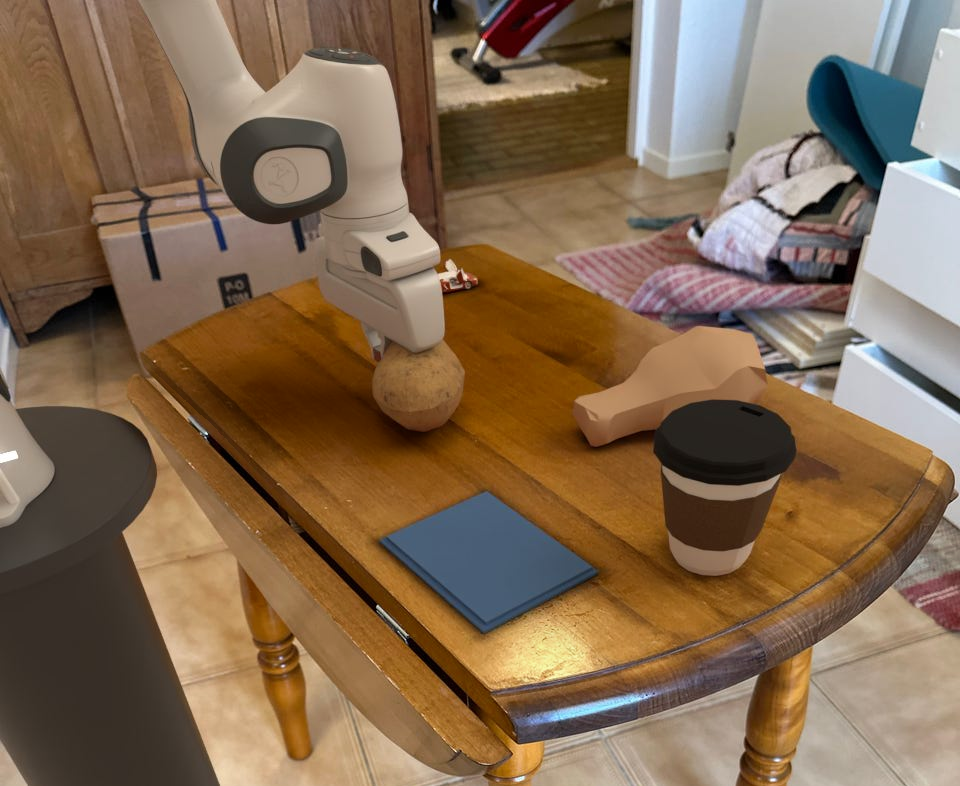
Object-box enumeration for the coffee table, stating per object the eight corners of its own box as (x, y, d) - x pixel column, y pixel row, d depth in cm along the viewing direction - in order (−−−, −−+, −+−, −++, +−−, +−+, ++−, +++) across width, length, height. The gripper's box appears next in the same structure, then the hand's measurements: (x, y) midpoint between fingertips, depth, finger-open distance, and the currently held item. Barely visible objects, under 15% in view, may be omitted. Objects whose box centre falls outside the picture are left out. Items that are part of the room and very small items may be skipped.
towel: (483, 634, 74) (483, 628, 73) (379, 542, 83) (378, 537, 83) (598, 573, 78) (598, 568, 78) (486, 494, 88) (486, 488, 88)
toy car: (484, 289, 125) (482, 265, 123) (427, 300, 123) (425, 276, 121) (471, 276, 129) (470, 252, 127) (416, 286, 127) (414, 263, 125)
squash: (783, 426, 95) (796, 353, 88) (604, 490, 93) (602, 421, 86) (730, 366, 101) (739, 294, 94) (561, 425, 99) (557, 355, 92)
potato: (372, 457, 94) (362, 385, 89) (381, 392, 105) (371, 324, 99) (468, 452, 94) (463, 379, 89) (467, 387, 105) (462, 318, 99)
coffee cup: (691, 503, 85) (705, 382, 77) (799, 549, 79) (826, 423, 71) (618, 559, 80) (625, 435, 72) (728, 612, 74) (749, 484, 66)
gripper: (292, 218, 99) (315, 341, 108) (395, 269, 86) (411, 403, 96) (343, 203, 102) (361, 325, 111) (450, 251, 89) (460, 384, 98)
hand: (385, 362), depth 103 cm, fingers closed
